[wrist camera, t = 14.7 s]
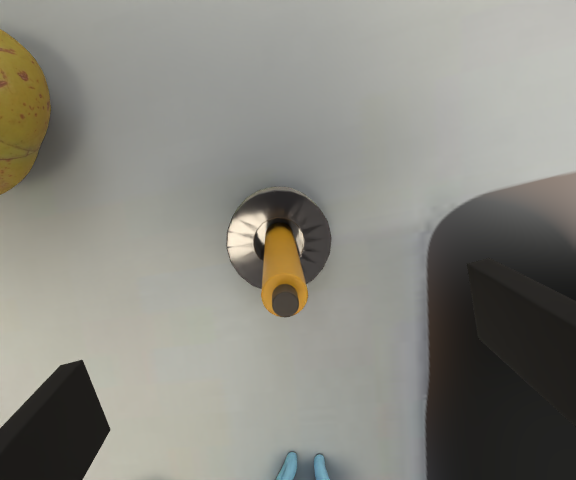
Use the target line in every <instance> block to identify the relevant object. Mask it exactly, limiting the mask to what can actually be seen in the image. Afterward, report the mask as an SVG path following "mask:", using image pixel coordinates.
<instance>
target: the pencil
mask: <svg viewBox="0 0 576 480" xmlns="http://www.w3.org/2000/svg"><path fill="white" fill-rule="evenodd" d="M261 298H262V302H263V304H264V306H265V308H266V309H267V310H268V311H269V312H270V313H272V314H274V315H276V316H280V317H290V316H293V315H295V314H297V313H298V312H300V311H301V310H302V309H303V308H304V306H305V304H306V302H307V299H308V290H307V286H306V282H305V278H304V275H303V271H302V267H301V263H300V259H299V255H298V251H297V248H296V244H295V240H294V236H293V232H292V230H291V228H290V227H289V226H288V225H286V224H284V223H274V224H272V225H271V226H269V228H268V229H267V231H266V234H265V249H264V263H263V278H262V292H261Z"/></svg>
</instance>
